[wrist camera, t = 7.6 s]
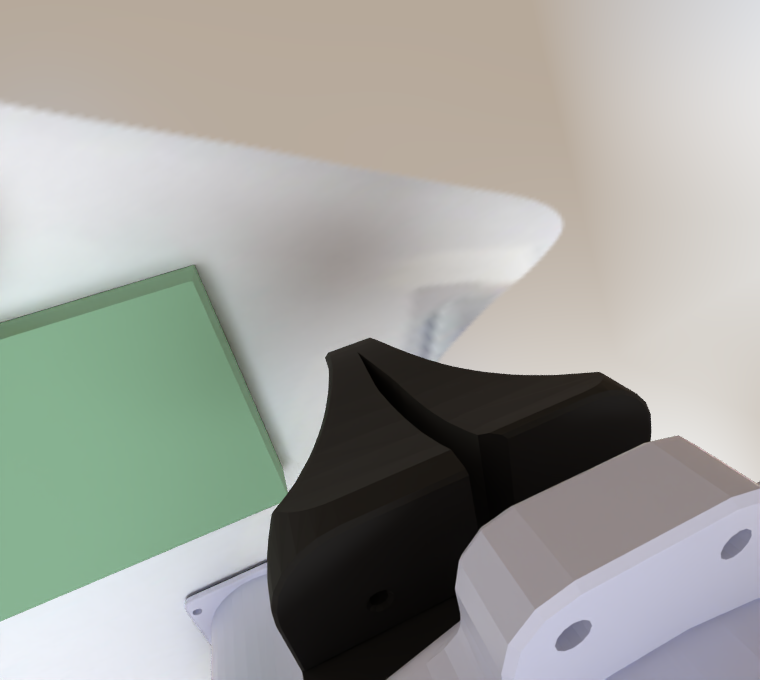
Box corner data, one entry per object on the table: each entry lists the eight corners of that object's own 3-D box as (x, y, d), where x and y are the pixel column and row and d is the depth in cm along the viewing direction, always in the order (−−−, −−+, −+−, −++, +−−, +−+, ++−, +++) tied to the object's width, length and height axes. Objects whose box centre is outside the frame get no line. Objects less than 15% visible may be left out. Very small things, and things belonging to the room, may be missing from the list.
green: (282, 467, 25) (289, 499, 22) (-133, 636, 21) (-174, 694, 18) (194, 264, 19) (191, 280, 17) (-399, 443, 15) (-501, 493, 13)
